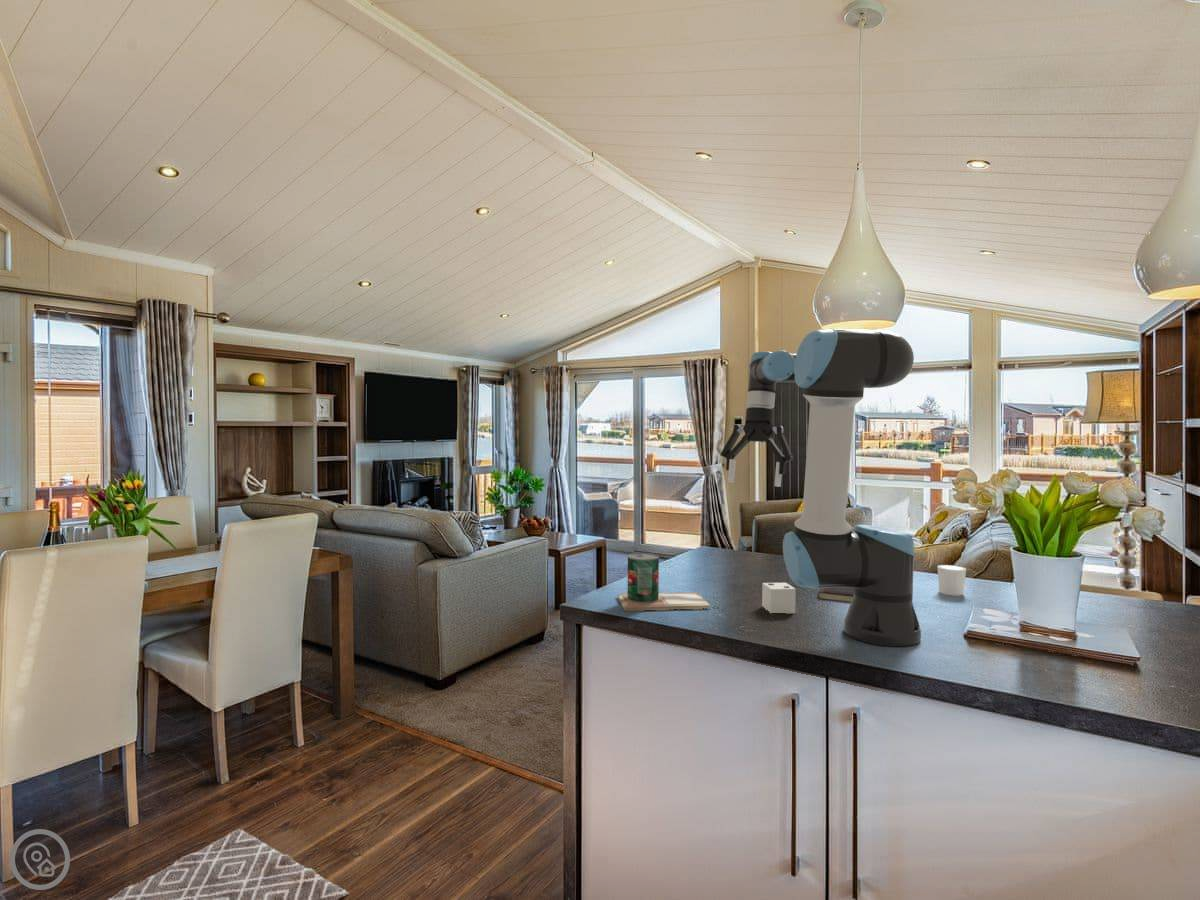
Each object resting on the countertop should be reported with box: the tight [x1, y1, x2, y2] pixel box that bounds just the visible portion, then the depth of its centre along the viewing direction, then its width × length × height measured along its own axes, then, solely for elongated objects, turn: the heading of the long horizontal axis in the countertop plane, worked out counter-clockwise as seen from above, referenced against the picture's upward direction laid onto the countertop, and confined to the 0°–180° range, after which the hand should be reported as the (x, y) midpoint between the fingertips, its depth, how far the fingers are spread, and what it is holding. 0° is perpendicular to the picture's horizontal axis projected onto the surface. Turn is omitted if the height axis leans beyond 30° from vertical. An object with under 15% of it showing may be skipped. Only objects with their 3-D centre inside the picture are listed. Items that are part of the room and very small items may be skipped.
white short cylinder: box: [937, 564, 967, 597], centre depth 173 cm, size 7×7×7 cm
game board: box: [617, 591, 711, 612], centre depth 161 cm, size 12×21×1 cm, turn 96°
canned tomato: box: [627, 552, 660, 604], centre depth 160 cm, size 8×8×11 cm
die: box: [761, 582, 797, 614], centre depth 156 cm, size 6×6×6 cm
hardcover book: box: [817, 587, 854, 603], centre depth 174 cm, size 16×23×2 cm
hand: (753, 484), depth 177 cm, fingers open, 13 cm apart
